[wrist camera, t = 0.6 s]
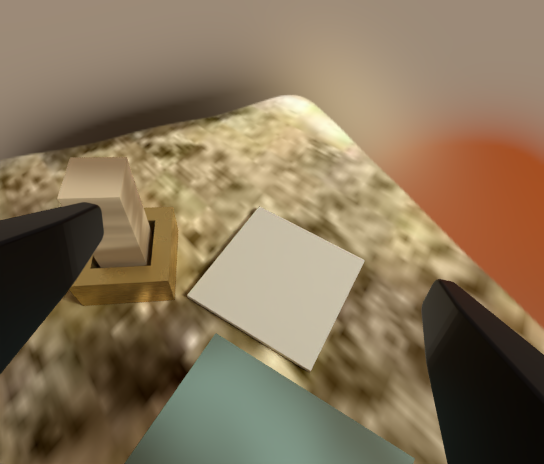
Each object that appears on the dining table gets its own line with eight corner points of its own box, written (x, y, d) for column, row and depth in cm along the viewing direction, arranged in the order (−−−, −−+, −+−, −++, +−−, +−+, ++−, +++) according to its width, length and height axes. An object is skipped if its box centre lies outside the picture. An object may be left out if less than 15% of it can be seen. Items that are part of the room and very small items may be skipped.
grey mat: (309, 372, 23) (310, 370, 23) (187, 297, 25) (187, 295, 25) (363, 262, 28) (364, 260, 28) (259, 209, 31) (259, 206, 30)
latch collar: (174, 299, 25) (168, 280, 22) (83, 305, 24) (66, 286, 22) (178, 230, 28) (173, 207, 26) (98, 233, 28) (85, 209, 25)
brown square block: (153, 281, 26) (119, 197, 18) (111, 283, 25) (57, 198, 18) (156, 247, 27) (126, 157, 20) (116, 249, 27) (70, 157, 19)
